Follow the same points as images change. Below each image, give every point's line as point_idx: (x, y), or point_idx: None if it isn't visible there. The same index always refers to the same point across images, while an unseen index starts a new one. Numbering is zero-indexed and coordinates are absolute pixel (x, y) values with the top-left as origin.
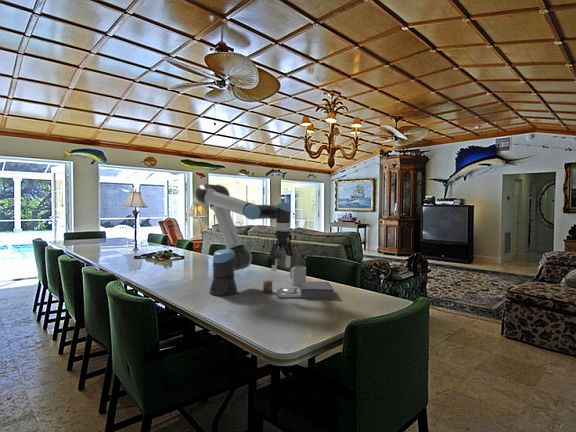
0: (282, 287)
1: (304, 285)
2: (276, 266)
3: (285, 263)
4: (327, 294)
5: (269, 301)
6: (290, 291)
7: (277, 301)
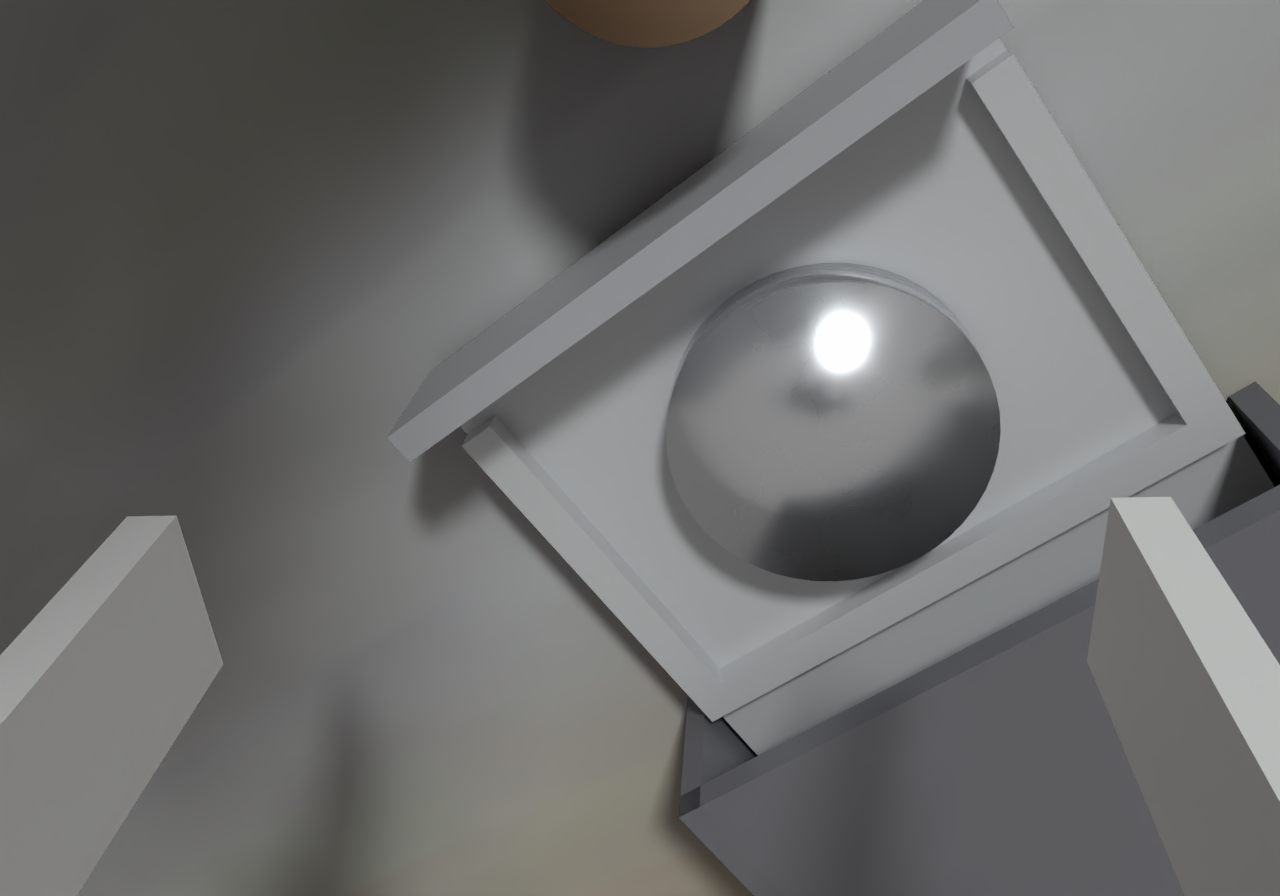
0: (1022, 120)
1: (1003, 738)
2: (131, 788)
3: (1162, 589)
4: None
5: (171, 395)
6: (711, 531)
7: (278, 497)
